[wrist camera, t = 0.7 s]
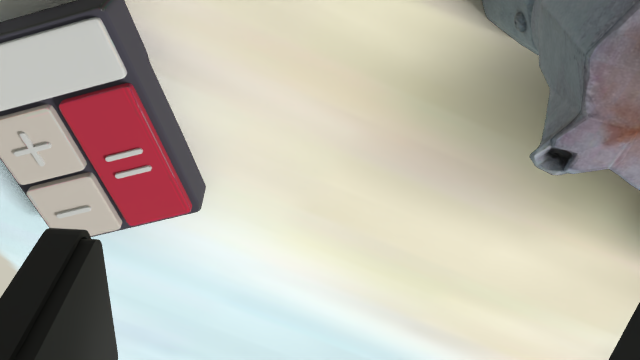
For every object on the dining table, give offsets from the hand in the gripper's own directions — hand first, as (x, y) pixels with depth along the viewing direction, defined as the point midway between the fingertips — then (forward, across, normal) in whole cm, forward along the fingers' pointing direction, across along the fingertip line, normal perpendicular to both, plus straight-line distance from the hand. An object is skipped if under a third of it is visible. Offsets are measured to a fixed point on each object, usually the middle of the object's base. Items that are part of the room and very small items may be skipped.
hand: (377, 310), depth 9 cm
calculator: (+28, +15, +11) cm, 34 cm away
